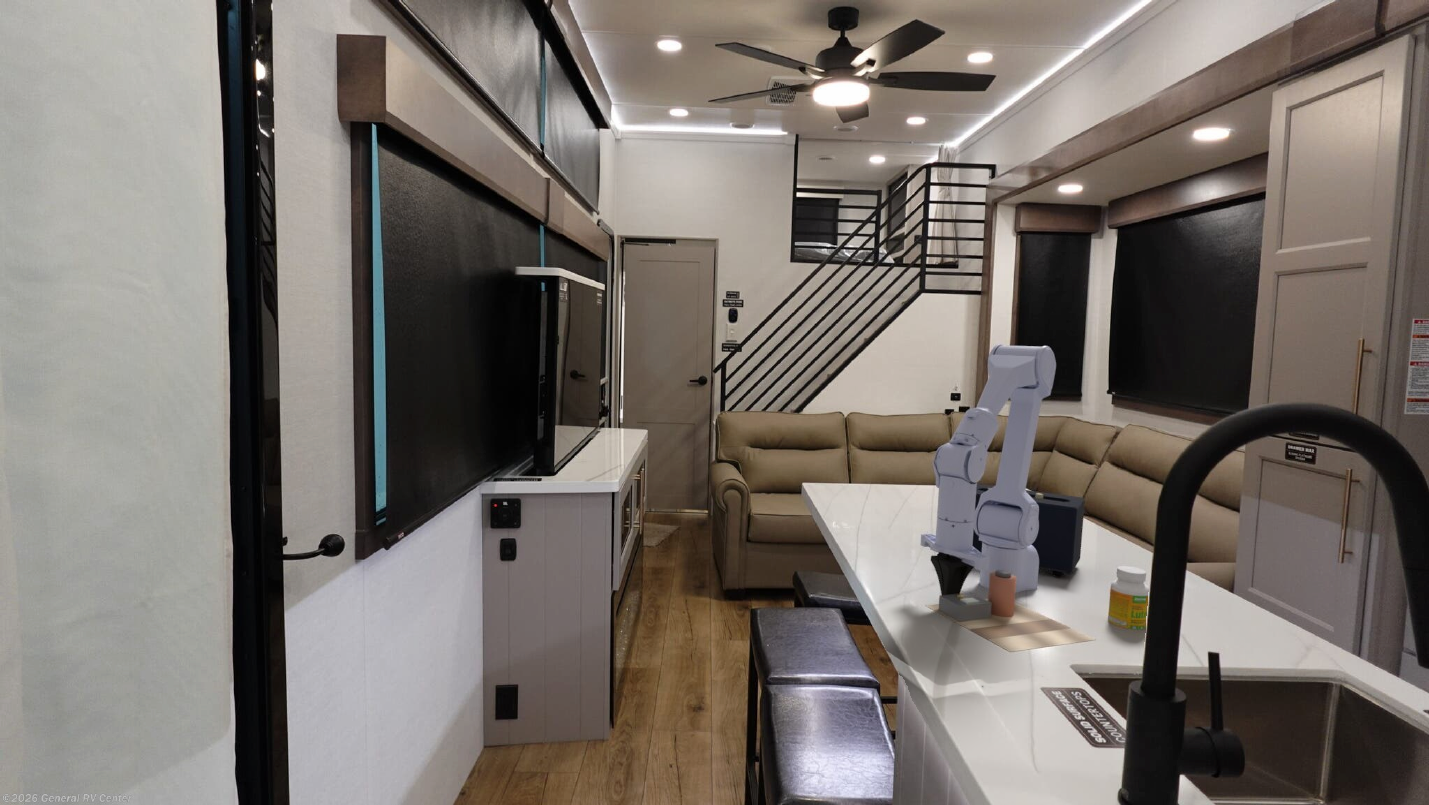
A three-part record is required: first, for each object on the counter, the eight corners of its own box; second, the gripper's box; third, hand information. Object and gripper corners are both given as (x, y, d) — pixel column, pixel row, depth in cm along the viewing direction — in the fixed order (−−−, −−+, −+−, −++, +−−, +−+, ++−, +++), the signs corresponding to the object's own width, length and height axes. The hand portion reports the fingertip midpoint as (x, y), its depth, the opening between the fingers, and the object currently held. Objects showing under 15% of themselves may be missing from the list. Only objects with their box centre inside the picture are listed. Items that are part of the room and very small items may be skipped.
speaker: (1079, 566, 153) (1085, 493, 152) (1071, 582, 142) (1077, 504, 141) (970, 547, 165) (975, 479, 163) (955, 560, 154) (960, 488, 153)
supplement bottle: (1131, 639, 115) (1137, 576, 114) (1099, 626, 119) (1104, 566, 119) (1153, 633, 117) (1159, 572, 116) (1121, 621, 122) (1126, 563, 121)
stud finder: (968, 607, 122) (970, 591, 122) (990, 618, 118) (991, 601, 117) (938, 610, 120) (939, 594, 120) (959, 622, 115) (960, 605, 115)
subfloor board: (1002, 603, 128) (1003, 597, 128) (1095, 647, 111) (1096, 639, 110) (924, 612, 122) (925, 605, 122) (1009, 660, 105) (1010, 651, 105)
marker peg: (1001, 607, 123) (1004, 567, 122) (1019, 615, 119) (1022, 575, 119) (981, 609, 121) (984, 569, 121) (999, 618, 118) (1002, 577, 117)
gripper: (907, 509, 126) (902, 588, 127) (965, 530, 113) (959, 619, 114) (942, 507, 129) (937, 585, 130) (1002, 528, 115) (996, 614, 116)
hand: (949, 600), depth 122 cm, fingers closed
